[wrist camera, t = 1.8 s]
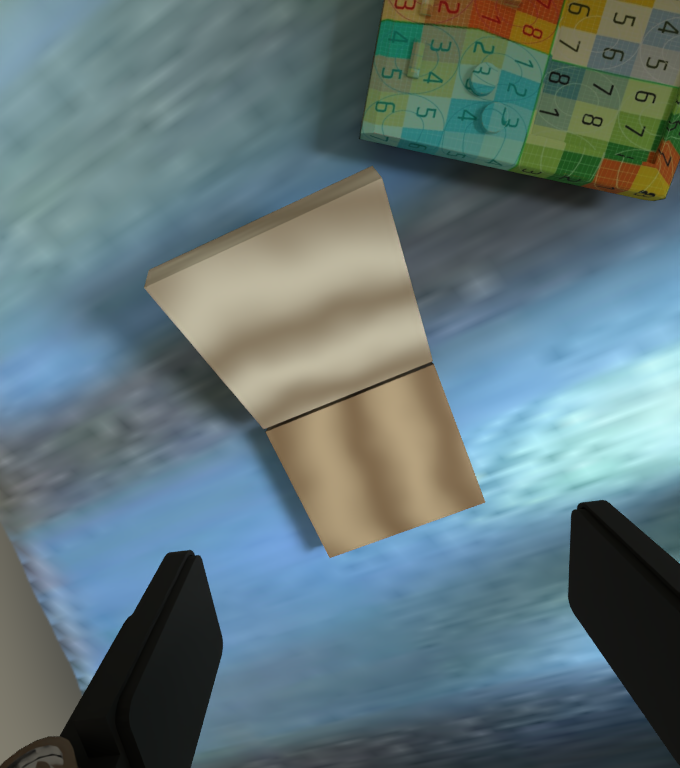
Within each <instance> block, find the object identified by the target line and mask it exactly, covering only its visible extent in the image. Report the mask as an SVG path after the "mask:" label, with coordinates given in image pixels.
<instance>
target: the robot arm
mask: <svg viewBox="0 0 680 768" xmlns="http://www.w3.org/2000/svg"><path fill="white" fill-rule="evenodd" d="M568 599H569V604H570V607H571V609H572V611H573V613H574V614H575V616H576V617H577V619H578V620H579V622H580V623H581V625H582V626H583V627H584V629H585V630H586V632H587V633H588V635H589V636H590V638H591V639H592V640H593V642H594V643H595V645H596V646H597V648H598V649H599V651H600V652H601V653H602V655H603V656H604V658H605V659H606V661H607V662H608V664H609V665H610V666H611V668H612V669H613V671H614V672H615V674H616V675H617V677H618V678H619V679H620V681H621V682H622V684H623V685H624V687H625V688H626V690H627V691H628V692H629V694H630V695H631V697H632V698H633V700H634V701H635V703H636V704H637V705H638V707H639V708H640V710H641V711H642V713H643V714H644V716H645V717H646V718H647V720H648V721H649V723H650V724H651V726H652V727H653V729H654V730H655V731H656V733H657V734H658V736H659V737H660V739H661V740H662V742H663V743H664V744H665V746H666V747H667V749H668V750H669V752H670V753H671V755H672V756H673V757H674V759H675V760H676V762H677V763H678V764H679V765H680V564H679V563H678V562H677V561H676V560H675V559H674V558H672V557H671V556H670V555H669V554H668V553H667V552H665V551H664V550H663V549H662V548H661V547H660V546H658V545H657V544H656V543H655V542H654V541H653V540H652V539H650V538H649V537H648V536H647V535H646V534H645V533H643V532H642V531H641V530H640V529H639V528H638V527H637V526H635V525H634V524H633V523H632V522H631V521H630V520H628V519H627V518H626V517H625V516H624V515H623V514H621V513H620V512H619V511H618V510H617V509H616V508H615V507H613V506H612V505H611V504H610V503H609V502H607V501H605V500H600V501H591V502H583V503H580V504H579V505H578V506H577V509H576V510H573V511H572V514H571V535H570V561H569V587H568ZM222 650H223V639H222V634H221V630H220V627H219V623H218V619H217V615H216V611H215V607H214V604H213V600H212V596H211V592H210V588H209V584H208V581H207V577H206V573H205V569H204V565H203V561H202V558H201V557H200V556H199V555H196V556H195V554H194V552H193V551H191V550H187V551H178V552H170V553H168V554H166V556H165V557H164V559H163V561H162V563H161V564H160V566H159V568H158V570H157V572H156V573H155V575H154V577H153V579H152V580H151V582H150V584H149V586H148V588H147V589H146V591H145V593H144V595H143V596H142V598H141V600H140V602H139V604H138V605H137V607H136V609H135V611H134V613H133V614H132V615H131V616H130V617H128V618H127V620H126V621H125V623H124V624H123V626H122V628H121V629H120V631H119V633H118V635H117V636H116V638H115V640H114V642H113V643H112V645H111V647H110V649H109V650H108V652H107V654H106V656H105V657H104V659H103V661H102V663H101V664H100V666H99V668H98V670H97V671H96V673H95V675H94V677H93V678H92V680H91V682H90V684H89V685H88V687H87V689H86V691H85V692H84V694H83V696H82V698H81V699H80V701H79V703H78V705H77V706H76V708H75V710H74V712H73V714H72V715H71V717H70V719H69V721H68V722H67V724H66V726H65V728H64V729H63V731H62V733H61V735H60V736H48V737H45V738H42V739H39V740H36V741H34V742H32V743H30V744H29V745H27V746H25V747H23V748H21V749H20V750H18V751H17V752H16V753H15V754H13V755H12V756H11V757H9V758H8V759H7V760H6V761H4V762H3V763H2V764H1V766H0V768H191V765H192V761H193V757H194V754H195V750H196V746H197V743H198V739H199V736H200V732H201V728H202V725H203V721H204V717H205V714H206V710H207V707H208V703H209V699H210V696H211V692H212V688H213V685H214V681H215V678H216V674H217V670H218V667H219V663H220V659H221V656H222Z"/></svg>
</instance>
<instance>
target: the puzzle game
mask: <svg viewBox="0 0 680 768" xmlns="http://www.w3.org/2000/svg"><path fill="white" fill-rule="evenodd" d="M359 139H362V140H366V141H371V142H376V143H380V144H385V145H390V146H394V147H399V148H404V149H409V150H413V151H418V152H423V153H427V154H432V155H437V156H441V157H446V158H451V159H455V160H460V161H465V162H469V163H474V164H479V165H483V166H488V167H493V168H497V169H502V170H507V171H512V172H516V173H521V174H526V175H530V176H535V177H540V178H544V179H549V180H554V181H558V182H563V183H568V184H572V185H577V186H582V187H586V188H591V189H596V190H601V191H605V192H610V193H615V194H619V195H624V196H629V197H633V198H638V199H643V200H650V201H656V200H661V199H665V198H666V195H667V192H668V190H669V187H670V184H671V182H672V179H673V176H674V174H675V171H676V168H677V166H678V163H679V160H680V0H384V2H383V8H382V13H381V19H380V24H379V30H378V36H377V41H376V47H375V52H374V58H373V63H372V69H371V74H370V80H369V85H368V91H367V96H366V102H365V108H364V113H363V119H362V124H361V130H360V136H359Z"/></svg>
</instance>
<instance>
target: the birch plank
mask: <svg viewBox="0 0 680 768" xmlns="http://www.w3.org/2000/svg"><path fill="white" fill-rule="evenodd" d="M144 288H145V289H146V291H147V292H148V293H149V294H150V295H151V297H152V298H153V299H154V300H155V301H156V302H157V304H158V305H159V306H160V307H161V308H162V310H163V311H164V312H165V313H166V314H167V315H168V317H169V318H170V319H171V320H172V321H173V323H174V324H175V325H176V326H177V327H178V328H179V330H180V331H181V332H182V333H183V334H184V336H185V337H186V338H187V339H188V340H189V341H190V343H191V344H192V345H193V346H194V347H195V349H196V350H197V351H198V352H199V353H200V354H201V356H202V357H203V358H204V359H205V360H206V362H207V363H208V364H209V365H210V366H211V367H212V369H213V370H214V371H215V372H216V373H217V375H218V376H219V377H220V378H221V379H222V380H223V382H224V383H225V384H226V385H227V386H228V388H229V389H230V390H231V391H232V392H233V393H234V395H235V396H236V397H237V398H238V399H239V401H240V402H241V403H242V404H243V405H244V406H245V408H246V409H247V410H248V411H249V412H250V414H251V415H252V416H253V417H254V418H255V419H256V421H257V422H258V423H259V424H260V425H261V427H262V428H263V429H266V428H268V427H271V426H273V425H276V424H278V423H281V422H283V421H285V420H288V419H290V418H293V417H295V416H298V415H300V414H303V413H305V412H308V411H310V410H313V409H315V408H318V407H320V406H323V405H325V404H328V403H330V402H333V401H335V400H338V399H340V398H343V397H345V396H347V395H350V394H352V393H355V392H357V391H360V390H362V389H365V388H367V387H370V386H372V385H375V384H377V383H380V382H382V381H385V380H387V379H390V378H392V377H395V376H397V375H400V374H402V373H405V372H407V371H409V370H412V369H414V368H417V367H419V366H422V365H424V364H427V363H429V362H432V361H433V360H432V356H431V353H430V349H429V346H428V342H427V338H426V335H425V331H424V328H423V324H422V320H421V317H420V313H419V310H418V306H417V302H416V299H415V295H414V292H413V288H412V284H411V281H410V277H409V274H408V270H407V266H406V263H405V259H404V255H403V252H402V248H401V245H400V241H399V237H398V234H397V230H396V227H395V223H394V219H393V216H392V212H391V209H390V205H389V201H388V198H387V194H386V191H385V187H384V183H383V180H382V177H381V176H380V175H379V174H378V172H377V171H376V170H375V169H374V167H373V166H371V167H369V168H367V169H364V170H362V171H360V172H358V173H356V174H354V175H352V176H349V177H347V178H345V179H343V180H341V181H339V182H337V183H334V184H332V185H330V186H328V187H326V188H324V189H322V190H319V191H317V192H315V193H313V194H311V195H309V196H307V197H304V198H302V199H300V200H298V201H296V202H294V203H292V204H289V205H287V206H285V207H283V208H281V209H279V210H277V211H274V212H272V213H270V214H268V215H266V216H264V217H262V218H259V219H257V220H255V221H253V222H251V223H249V224H247V225H244V226H242V227H240V228H238V229H236V230H234V231H232V232H229V233H227V234H225V235H223V236H221V237H219V238H217V239H214V240H212V241H210V242H208V243H206V244H204V245H202V246H199V247H197V248H195V249H193V250H191V251H189V252H187V253H184V254H182V255H180V256H178V257H176V258H174V259H171V260H169V261H167V262H165V263H163V264H161V265H159V266H156V267H154V268H152V269H150V270H149V272H148V275H147V279H146V283H145V286H144Z"/></svg>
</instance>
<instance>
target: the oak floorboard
mask: <svg viewBox="0 0 680 768" xmlns="http://www.w3.org/2000/svg"><path fill="white" fill-rule="evenodd" d="M266 434H267V436H268V438H269V440H270V441H271V443H272V445H273V447H274V449H275V451H276V453H277V455H278V457H279V459H280V461H281V463H282V465H283V467H284V469H285V471H286V473H287V475H288V477H289V479H290V481H291V483H292V485H293V487H294V489H295V491H296V493H297V495H298V497H299V498H300V500H301V502H302V504H303V506H304V508H305V510H306V512H307V514H308V516H309V518H310V520H311V522H312V524H313V526H314V528H315V530H316V532H317V534H318V536H319V538H320V540H321V542H322V544H323V546H324V548H325V550H326V552H327V554H328V555H329V557H330V558H331V557H334V556H337V555H340V554H343V553H345V552H348V551H351V550H354V549H356V548H359V547H362V546H365V545H368V544H370V543H373V542H376V541H379V540H382V539H384V538H387V537H390V536H393V535H396V534H398V533H401V532H404V531H407V530H410V529H412V528H415V527H418V526H421V525H424V524H426V523H429V522H432V521H435V520H438V519H440V518H443V517H446V516H449V515H451V514H454V513H457V512H460V511H463V510H465V509H468V508H471V507H474V506H477V505H479V504H482V503H485V500H484V497H483V495H482V492H481V489H480V487H479V484H478V481H477V479H476V476H475V473H474V471H473V468H472V465H471V463H470V460H469V457H468V455H467V452H466V449H465V446H464V444H463V441H462V438H461V436H460V433H459V430H458V428H457V425H456V422H455V420H454V417H453V414H452V412H451V409H450V406H449V404H448V401H447V398H446V396H445V393H444V390H443V387H442V385H441V382H440V379H439V377H438V374H437V371H436V369H435V366H434V364H433V363H432V362H429V363H427V364H424V365H422V366H419V367H417V368H414V369H412V370H409V371H407V372H405V373H402V374H400V375H397V376H395V377H392V378H390V379H387V380H385V381H382V382H380V383H377V384H375V385H372V386H370V387H367V388H365V389H362V390H360V391H357V392H355V393H352V394H350V395H347V396H345V397H343V398H340V399H338V400H335V401H333V402H330V403H328V404H325V405H323V406H320V407H318V408H315V409H313V410H310V411H308V412H305V413H303V414H300V415H298V416H295V417H293V418H290V419H288V420H285V421H283V422H281V423H278V424H276V425H273V426H271V427H268V428H267V430H266Z"/></svg>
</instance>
